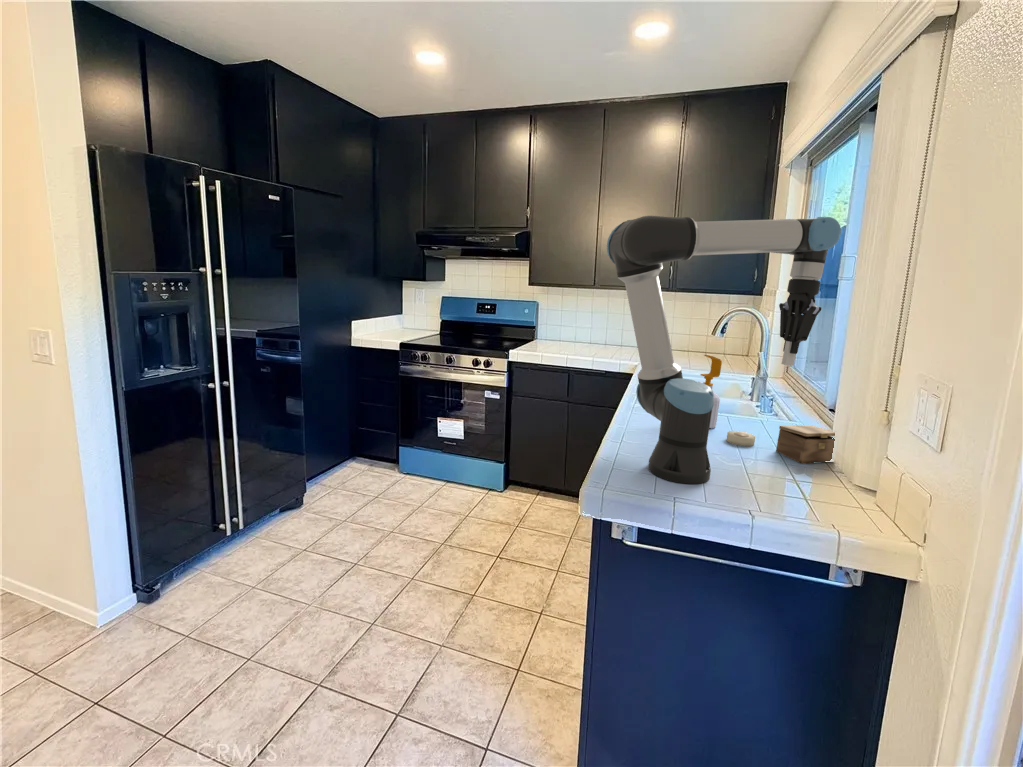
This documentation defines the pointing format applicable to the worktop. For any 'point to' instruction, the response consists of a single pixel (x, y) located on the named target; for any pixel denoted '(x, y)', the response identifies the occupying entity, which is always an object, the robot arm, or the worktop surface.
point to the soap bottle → (713, 373)
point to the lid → (809, 431)
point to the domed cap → (740, 438)
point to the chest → (805, 447)
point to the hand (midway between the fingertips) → (787, 364)
